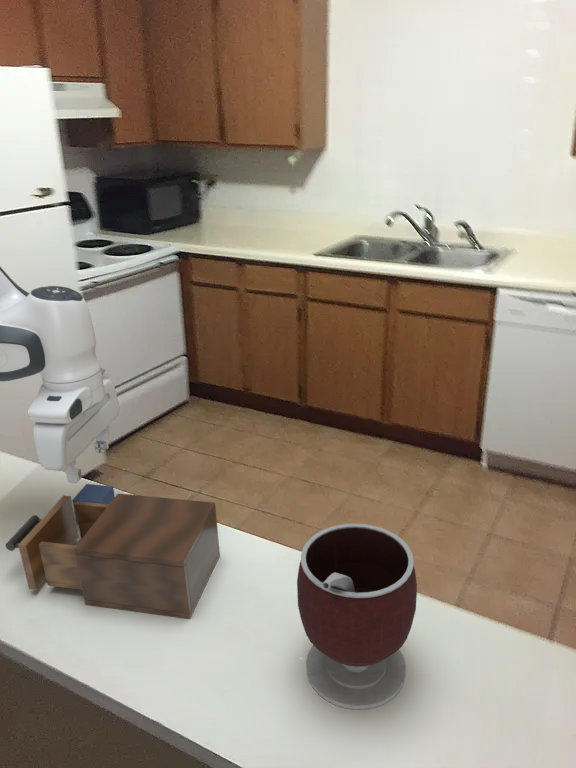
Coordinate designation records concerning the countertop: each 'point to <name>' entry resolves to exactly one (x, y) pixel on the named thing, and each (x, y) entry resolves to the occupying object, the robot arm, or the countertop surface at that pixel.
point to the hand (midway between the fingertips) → (89, 465)
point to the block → (94, 495)
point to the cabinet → (149, 555)
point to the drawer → (54, 543)
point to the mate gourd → (356, 613)
